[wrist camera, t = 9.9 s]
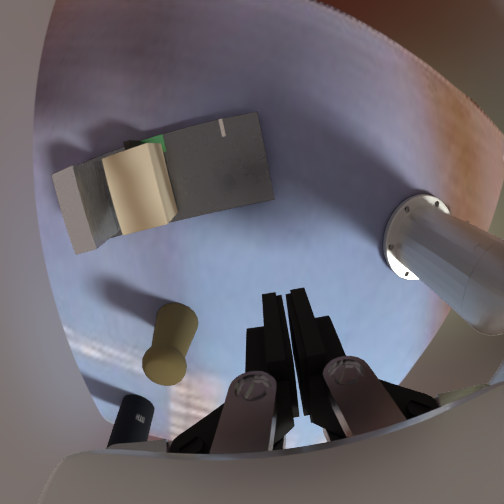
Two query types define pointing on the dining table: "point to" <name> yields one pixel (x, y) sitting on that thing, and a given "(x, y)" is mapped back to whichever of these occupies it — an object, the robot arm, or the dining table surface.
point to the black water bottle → (132, 421)
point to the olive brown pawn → (170, 344)
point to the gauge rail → (173, 178)
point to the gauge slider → (140, 186)
